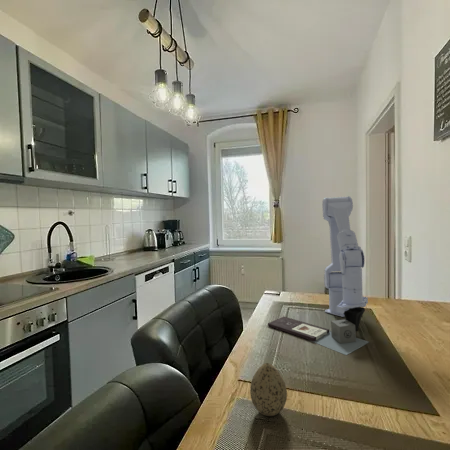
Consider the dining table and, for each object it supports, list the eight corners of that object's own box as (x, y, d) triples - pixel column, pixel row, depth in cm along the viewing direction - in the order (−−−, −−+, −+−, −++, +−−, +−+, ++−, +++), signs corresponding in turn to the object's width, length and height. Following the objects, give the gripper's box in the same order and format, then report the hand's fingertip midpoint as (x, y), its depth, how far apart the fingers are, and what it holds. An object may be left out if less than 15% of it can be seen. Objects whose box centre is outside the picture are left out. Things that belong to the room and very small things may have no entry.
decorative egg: (280, 398, 62) (278, 353, 62) (293, 422, 55) (291, 371, 55) (247, 404, 61) (245, 357, 61) (256, 428, 54) (254, 376, 53)
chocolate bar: (283, 316, 107) (329, 329, 94) (284, 318, 107) (329, 332, 94) (267, 323, 101) (313, 338, 88) (268, 326, 101) (313, 341, 88)
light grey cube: (355, 341, 86) (355, 325, 86) (340, 343, 86) (339, 326, 86) (346, 335, 91) (345, 319, 91) (331, 336, 91) (330, 320, 91)
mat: (333, 330, 96) (333, 329, 96) (369, 342, 86) (369, 341, 86) (310, 341, 89) (310, 340, 89) (346, 355, 79) (346, 355, 79)
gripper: (351, 294, 84) (352, 341, 84) (376, 285, 92) (377, 327, 93) (329, 290, 90) (331, 333, 90) (355, 282, 98) (356, 321, 99)
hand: (353, 330), depth 92 cm, fingers closed
